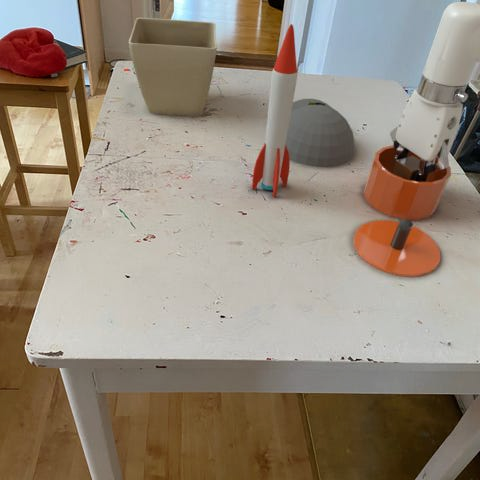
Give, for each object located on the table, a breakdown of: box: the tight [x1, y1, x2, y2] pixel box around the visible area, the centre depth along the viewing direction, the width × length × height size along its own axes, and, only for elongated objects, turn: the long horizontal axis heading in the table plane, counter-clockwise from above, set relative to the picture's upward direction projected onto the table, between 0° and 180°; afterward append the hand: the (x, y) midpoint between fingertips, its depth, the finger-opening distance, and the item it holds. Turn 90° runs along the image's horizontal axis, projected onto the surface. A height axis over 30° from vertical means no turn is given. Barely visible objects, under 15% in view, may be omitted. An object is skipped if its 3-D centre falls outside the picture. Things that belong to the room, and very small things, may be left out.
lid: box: [352, 219, 441, 278], centre depth 84 cm, size 16×16×6 cm
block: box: [392, 156, 427, 180], centre depth 93 cm, size 5×5×5 cm
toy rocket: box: [251, 23, 298, 199], centre depth 86 cm, size 6×6×30 cm
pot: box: [363, 144, 452, 221], centre depth 94 cm, size 15×15×8 cm
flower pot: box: [128, 17, 218, 117], centre depth 114 cm, size 19×19×17 cm
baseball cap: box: [286, 98, 355, 168], centre depth 109 cm, size 19×26×12 cm
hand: (405, 182), depth 94 cm, fingers closed on block, 4 cm apart
